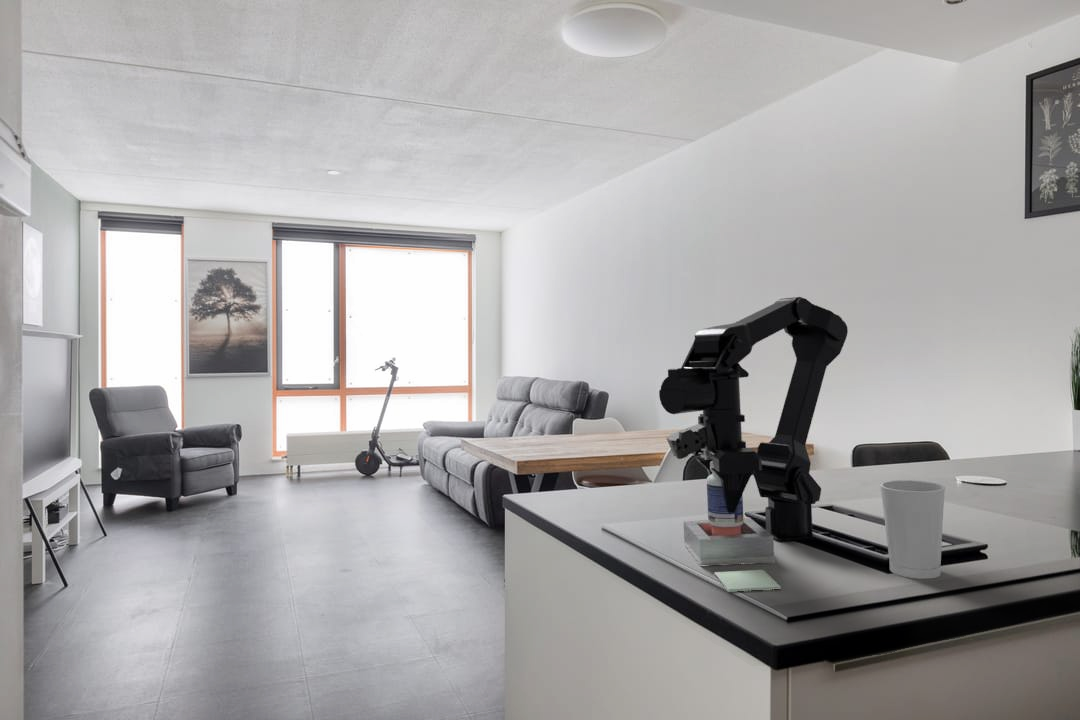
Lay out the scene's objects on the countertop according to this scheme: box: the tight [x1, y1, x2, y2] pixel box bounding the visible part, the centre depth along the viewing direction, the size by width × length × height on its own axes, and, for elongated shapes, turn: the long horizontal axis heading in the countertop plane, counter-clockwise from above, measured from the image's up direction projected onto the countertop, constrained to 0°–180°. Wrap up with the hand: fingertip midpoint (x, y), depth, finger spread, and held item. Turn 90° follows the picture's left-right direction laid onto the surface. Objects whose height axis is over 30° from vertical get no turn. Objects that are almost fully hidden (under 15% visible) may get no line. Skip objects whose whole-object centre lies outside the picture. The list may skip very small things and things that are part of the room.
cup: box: [879, 479, 946, 580], centre depth 98 cm, size 8×8×12 cm
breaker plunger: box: [712, 525, 741, 536], centre depth 110 cm, size 4×4×3 cm
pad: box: [714, 569, 781, 593], centre depth 97 cm, size 7×7×1 cm
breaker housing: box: [683, 517, 775, 566], centre depth 110 cm, size 11×11×4 cm
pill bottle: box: [706, 461, 744, 527], centre depth 110 cm, size 5×5×10 cm
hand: (725, 507), depth 110 cm, fingers closed on pill bottle, 5 cm apart
